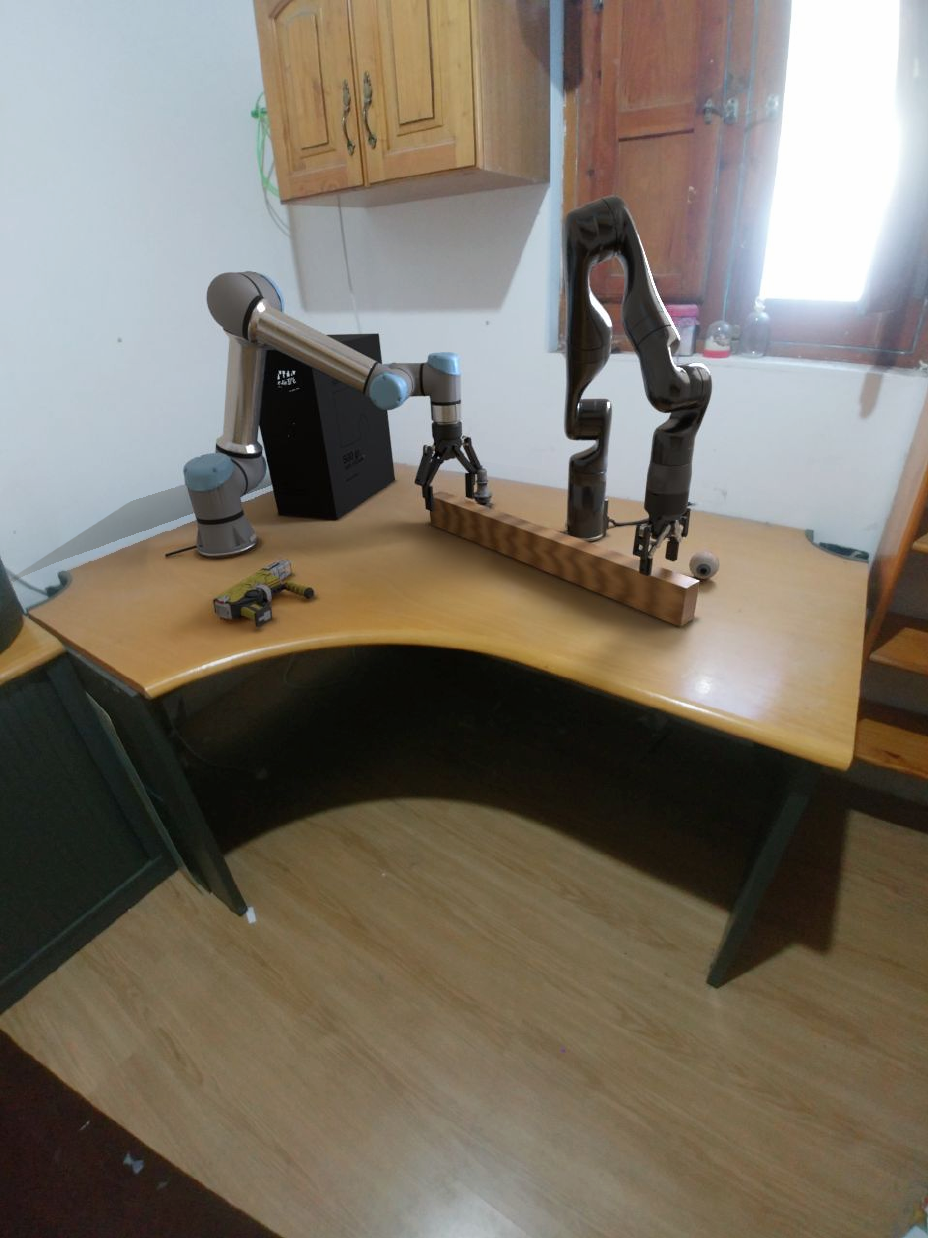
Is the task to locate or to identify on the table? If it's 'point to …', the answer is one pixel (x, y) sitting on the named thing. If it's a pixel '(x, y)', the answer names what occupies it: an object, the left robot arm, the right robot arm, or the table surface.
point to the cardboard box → (323, 436)
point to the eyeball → (704, 564)
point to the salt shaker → (482, 489)
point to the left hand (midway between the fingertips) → (450, 503)
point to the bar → (571, 559)
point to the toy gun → (258, 594)
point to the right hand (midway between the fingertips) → (658, 567)
